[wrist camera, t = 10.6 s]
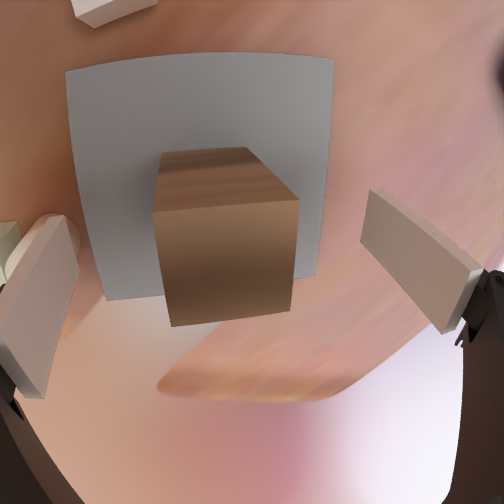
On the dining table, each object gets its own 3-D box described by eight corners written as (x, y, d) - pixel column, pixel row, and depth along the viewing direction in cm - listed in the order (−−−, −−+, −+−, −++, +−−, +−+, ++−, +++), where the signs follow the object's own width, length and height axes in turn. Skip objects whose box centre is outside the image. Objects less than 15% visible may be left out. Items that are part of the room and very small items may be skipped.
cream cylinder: (25, 217, 18) (-4, 253, 14) (73, 209, 19) (50, 245, 14) (40, 265, 20) (18, 308, 16) (86, 260, 21) (70, 304, 17)
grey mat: (70, 72, 14) (65, 71, 13) (327, 59, 17) (334, 59, 17) (108, 292, 22) (106, 300, 22) (310, 268, 26) (315, 275, 25)
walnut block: (161, 152, 17) (151, 212, 10) (245, 146, 18) (299, 200, 11) (169, 229, 20) (171, 327, 12) (245, 221, 21) (289, 311, 13)
